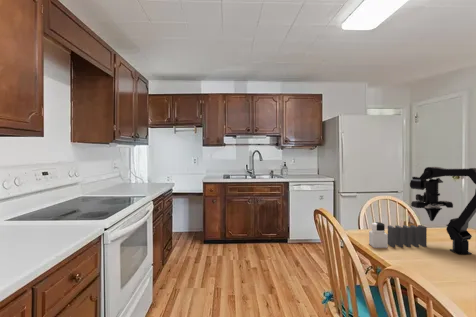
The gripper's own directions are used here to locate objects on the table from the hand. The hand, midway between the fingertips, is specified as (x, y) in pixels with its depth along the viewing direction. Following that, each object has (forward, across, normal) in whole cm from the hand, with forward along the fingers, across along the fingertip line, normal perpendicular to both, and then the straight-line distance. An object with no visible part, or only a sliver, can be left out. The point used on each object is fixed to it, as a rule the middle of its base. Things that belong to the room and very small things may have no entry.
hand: (431, 220), depth 163 cm
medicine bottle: (+13, +28, 0) cm, 31 cm away
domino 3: (+13, +13, 0) cm, 18 cm away
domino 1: (+13, +21, 0) cm, 25 cm away
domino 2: (+13, +17, 0) cm, 21 cm away
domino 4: (+13, +9, 0) cm, 16 cm away
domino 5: (+13, +5, 0) cm, 14 cm away
